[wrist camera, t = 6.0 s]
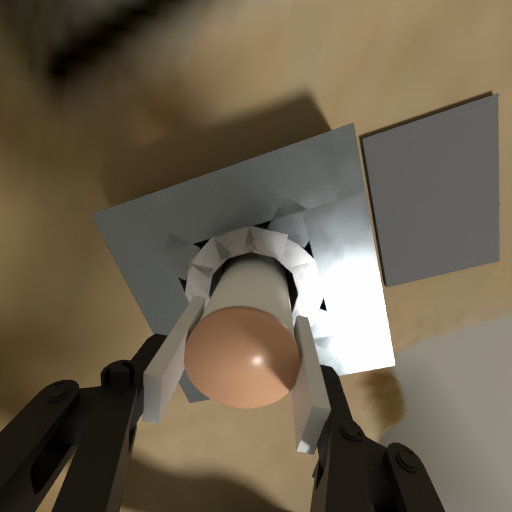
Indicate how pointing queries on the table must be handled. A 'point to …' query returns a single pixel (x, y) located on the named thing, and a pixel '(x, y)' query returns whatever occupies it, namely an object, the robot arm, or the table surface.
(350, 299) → the housing
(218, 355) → the capped white peg
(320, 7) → the table surface
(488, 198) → the rubber mat
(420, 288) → the table surface
